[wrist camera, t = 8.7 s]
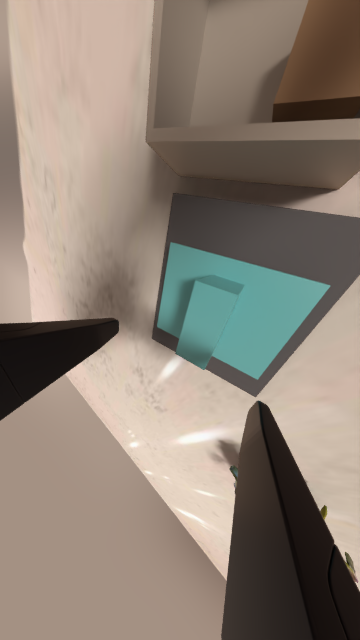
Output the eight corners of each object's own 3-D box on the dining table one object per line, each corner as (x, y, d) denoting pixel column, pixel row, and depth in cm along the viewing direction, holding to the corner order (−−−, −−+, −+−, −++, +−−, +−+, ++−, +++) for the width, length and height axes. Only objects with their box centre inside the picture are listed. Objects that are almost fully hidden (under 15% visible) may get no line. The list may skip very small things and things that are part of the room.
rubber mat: (395, 225, 9) (402, 223, 9) (255, 393, 18) (255, 397, 18) (176, 195, 15) (173, 193, 14) (154, 336, 24) (151, 338, 23)
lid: (320, 281, 11) (371, 300, 6) (257, 367, 16) (256, 417, 11) (180, 244, 16) (139, 236, 10) (165, 321, 21) (133, 342, 16)
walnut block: (402, 18, 7) (483, -118, 4) (338, 141, 9) (368, 95, 6) (307, 38, 8) (327, -57, 6) (270, 141, 10) (273, 103, 8)
